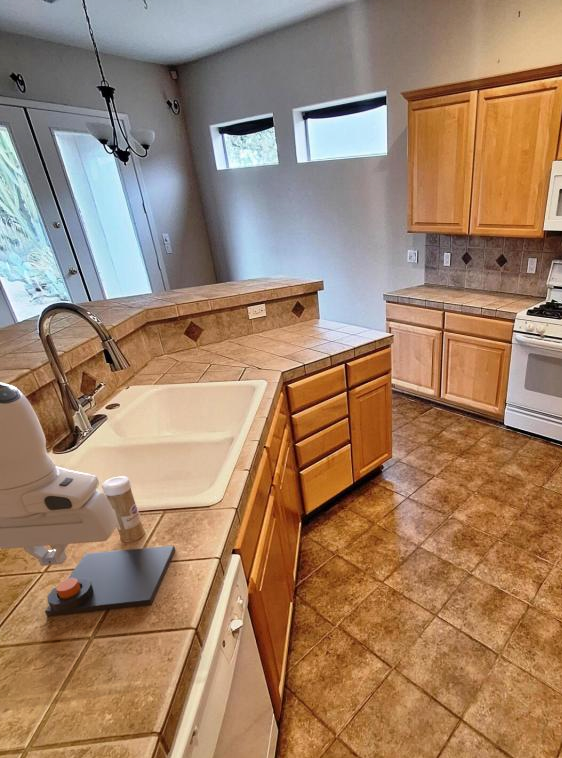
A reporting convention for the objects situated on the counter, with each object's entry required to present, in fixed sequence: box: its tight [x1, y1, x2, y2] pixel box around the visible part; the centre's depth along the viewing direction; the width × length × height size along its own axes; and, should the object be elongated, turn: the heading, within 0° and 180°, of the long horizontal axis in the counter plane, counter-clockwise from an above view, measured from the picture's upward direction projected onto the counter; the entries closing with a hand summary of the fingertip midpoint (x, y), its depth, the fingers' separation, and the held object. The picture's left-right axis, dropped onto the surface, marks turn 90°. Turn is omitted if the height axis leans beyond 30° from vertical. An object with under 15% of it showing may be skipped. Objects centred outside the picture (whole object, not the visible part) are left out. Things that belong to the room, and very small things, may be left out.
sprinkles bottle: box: [101, 475, 146, 543], centre depth 86 cm, size 5×5×13 cm
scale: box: [44, 545, 177, 618], centre depth 77 cm, size 16×14×3 cm
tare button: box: [55, 577, 81, 599], centre depth 72 cm, size 3×3×2 cm
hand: (54, 562), depth 69 cm, fingers closed
